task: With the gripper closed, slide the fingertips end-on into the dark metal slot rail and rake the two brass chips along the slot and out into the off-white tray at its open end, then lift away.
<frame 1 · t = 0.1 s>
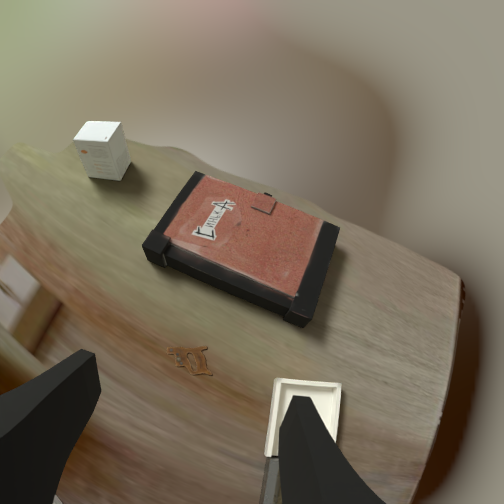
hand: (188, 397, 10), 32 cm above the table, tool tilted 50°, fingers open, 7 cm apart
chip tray: (301, 419, 38), on the table
book: (244, 249, 50), on the table
slot rail: (291, 492, 32), on the table
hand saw: (132, 356, 40), on the table
small box: (109, 170, 55), on the table
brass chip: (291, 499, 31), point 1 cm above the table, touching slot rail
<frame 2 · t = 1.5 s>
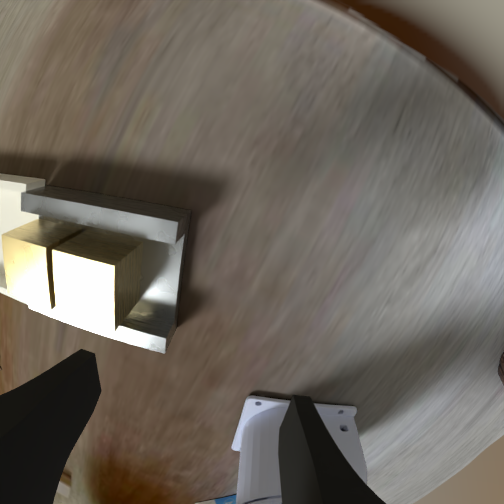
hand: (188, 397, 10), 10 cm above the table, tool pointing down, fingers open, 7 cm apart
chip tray: (0, 228, 19), on the table
slot rail: (106, 256, 19), on the table
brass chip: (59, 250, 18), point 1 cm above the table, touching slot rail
ink box: (228, 502, 30), on the table
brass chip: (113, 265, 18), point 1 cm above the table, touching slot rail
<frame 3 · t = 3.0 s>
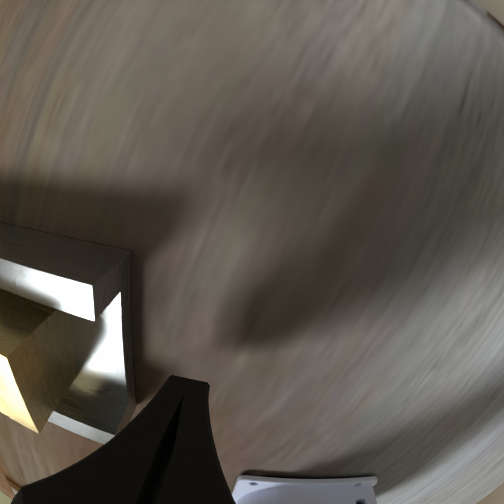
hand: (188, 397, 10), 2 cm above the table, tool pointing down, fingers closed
slot rail: (34, 311, 12), on the table
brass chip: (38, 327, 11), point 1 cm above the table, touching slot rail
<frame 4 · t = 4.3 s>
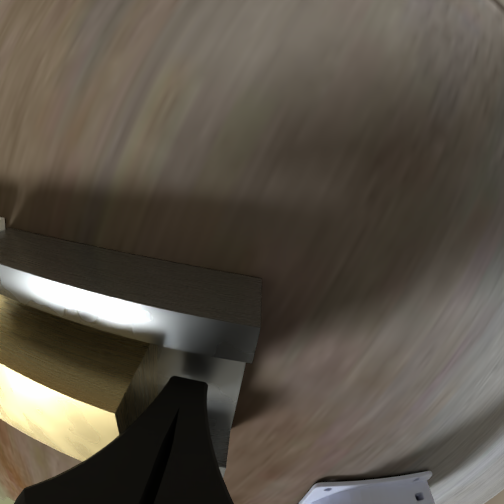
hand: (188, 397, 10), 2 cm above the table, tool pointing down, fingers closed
slot rail: (113, 342, 12), on the table
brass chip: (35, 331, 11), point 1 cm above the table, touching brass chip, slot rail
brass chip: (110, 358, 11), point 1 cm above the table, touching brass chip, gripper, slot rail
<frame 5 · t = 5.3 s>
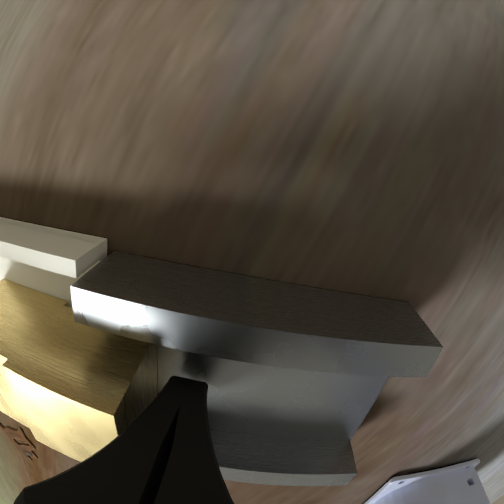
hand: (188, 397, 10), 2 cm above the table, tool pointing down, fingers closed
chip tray: (18, 309, 11), on the table
slot rail: (246, 371, 12), on the table
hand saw: (60, 483, 20), on the table
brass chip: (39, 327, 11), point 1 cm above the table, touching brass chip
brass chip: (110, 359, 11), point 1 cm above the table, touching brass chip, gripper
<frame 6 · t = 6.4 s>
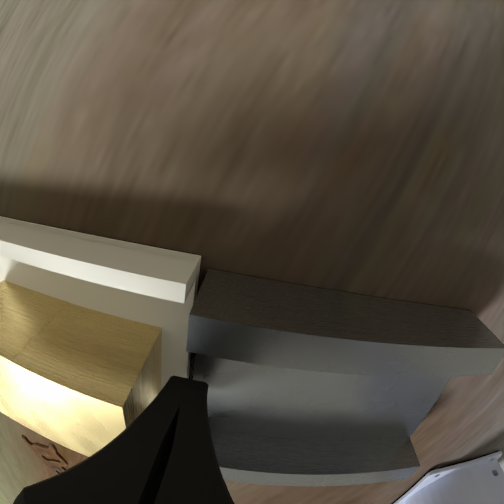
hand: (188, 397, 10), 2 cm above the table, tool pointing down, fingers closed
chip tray: (71, 329, 12), on the table
slot rail: (329, 381, 12), on the table
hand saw: (88, 495, 20), on the table
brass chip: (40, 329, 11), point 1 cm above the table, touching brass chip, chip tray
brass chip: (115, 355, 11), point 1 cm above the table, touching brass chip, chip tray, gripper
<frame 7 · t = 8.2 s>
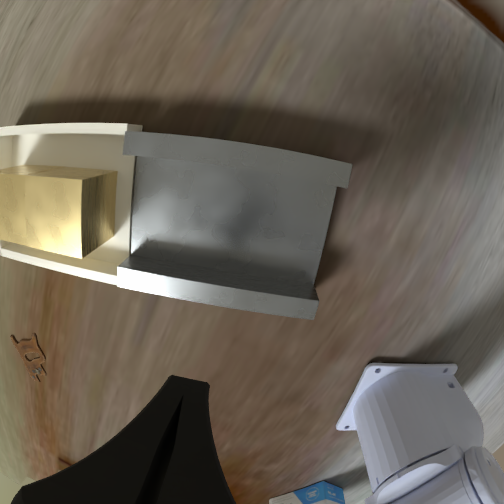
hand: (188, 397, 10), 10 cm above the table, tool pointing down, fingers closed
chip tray: (63, 192, 17), on the table
slot rail: (229, 215, 18), on the table
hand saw: (64, 412, 26), on the table
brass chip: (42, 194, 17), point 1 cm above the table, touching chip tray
ink box: (305, 493, 29), on the table
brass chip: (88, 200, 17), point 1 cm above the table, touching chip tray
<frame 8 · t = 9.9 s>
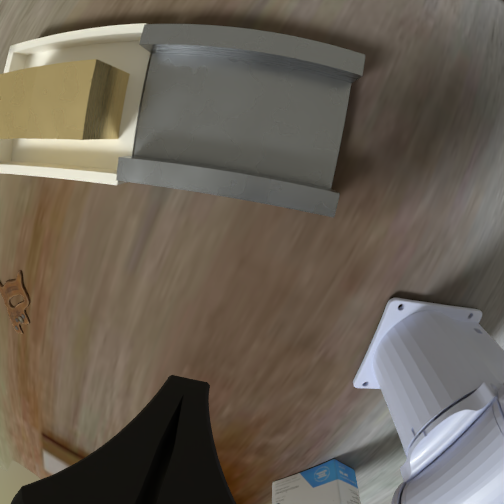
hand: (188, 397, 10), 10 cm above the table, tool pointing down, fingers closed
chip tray: (70, 104, 15), on the table
slot rail: (241, 115, 16), on the table
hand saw: (48, 373, 24), on the table
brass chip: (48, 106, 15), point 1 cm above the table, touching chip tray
ink box: (312, 475, 27), on the table
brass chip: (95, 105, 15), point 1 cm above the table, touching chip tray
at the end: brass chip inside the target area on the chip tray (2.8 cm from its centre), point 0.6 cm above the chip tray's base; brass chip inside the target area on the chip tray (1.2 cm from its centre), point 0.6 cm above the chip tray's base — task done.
